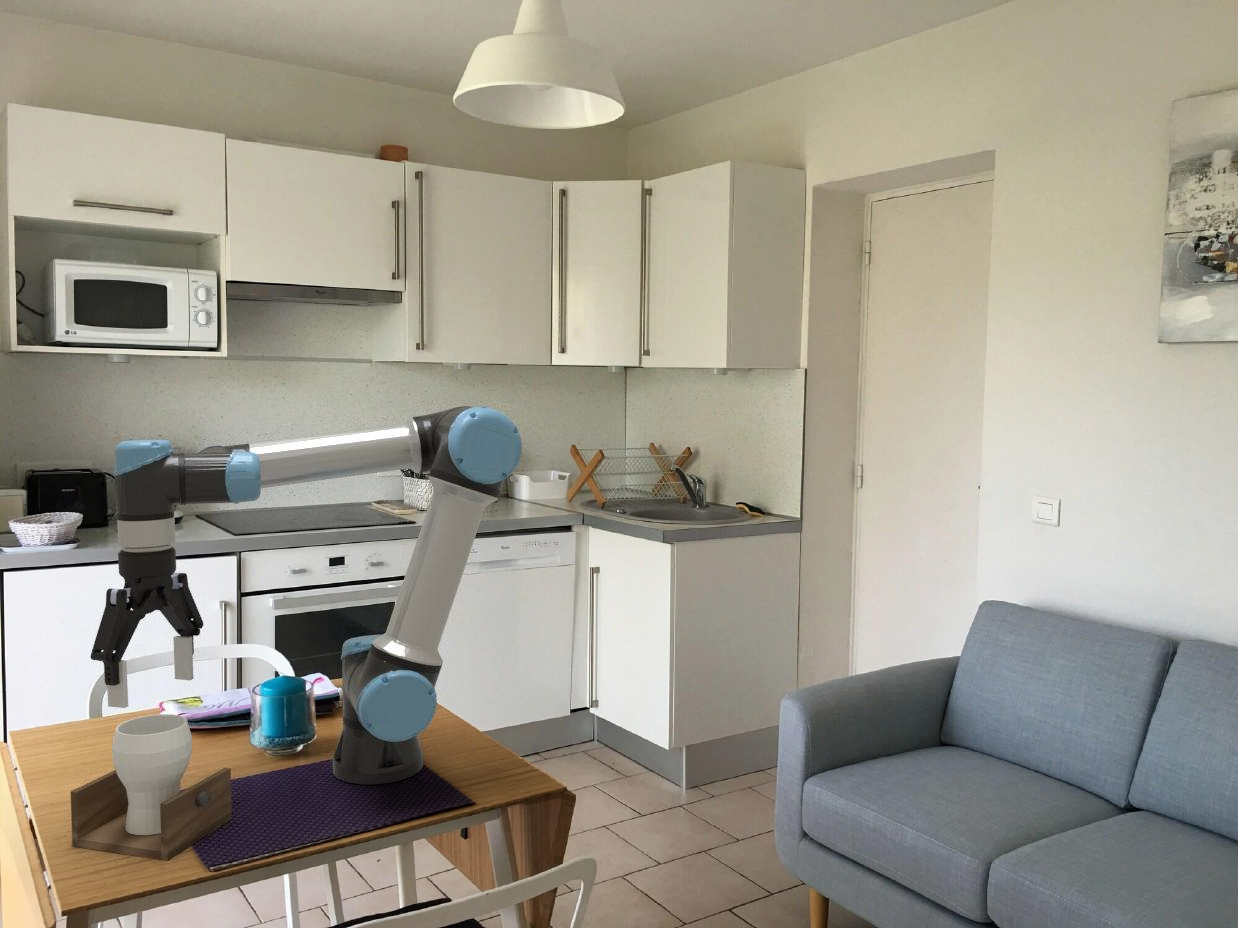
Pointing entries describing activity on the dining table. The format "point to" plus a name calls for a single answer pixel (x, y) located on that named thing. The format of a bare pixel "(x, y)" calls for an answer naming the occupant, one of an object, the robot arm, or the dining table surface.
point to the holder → (182, 815)
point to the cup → (150, 766)
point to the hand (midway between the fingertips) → (152, 692)
